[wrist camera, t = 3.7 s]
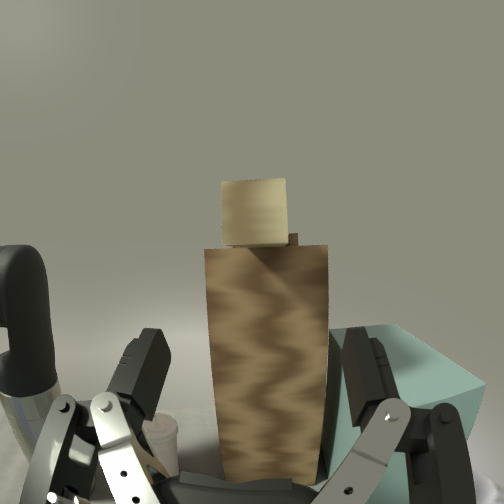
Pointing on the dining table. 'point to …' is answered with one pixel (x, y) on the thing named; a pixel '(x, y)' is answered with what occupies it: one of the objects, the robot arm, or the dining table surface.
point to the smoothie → (164, 441)
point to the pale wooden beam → (254, 213)
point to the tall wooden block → (268, 357)
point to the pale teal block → (410, 391)
